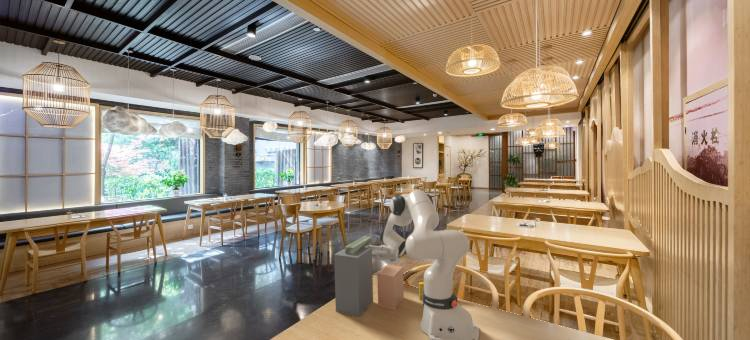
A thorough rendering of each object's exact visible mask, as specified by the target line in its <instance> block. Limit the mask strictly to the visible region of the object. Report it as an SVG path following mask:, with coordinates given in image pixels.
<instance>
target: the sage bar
mask: <svg viewBox="0 0 750 340" xmlns="http://www.w3.org/2000/svg"><path fill="white" fill-rule="evenodd" d="M372 239H373V238H372V236H367V235H364V236H362V237H360V238H358V239H357V240H354V241H353V242H351V243H350V244H347V245H346V246H344V249H345V253H346V254H355V253H356V252H358V251H359V250H361V249H362V248H364V247H366V246H367V245H371V244H372Z"/></svg>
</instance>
